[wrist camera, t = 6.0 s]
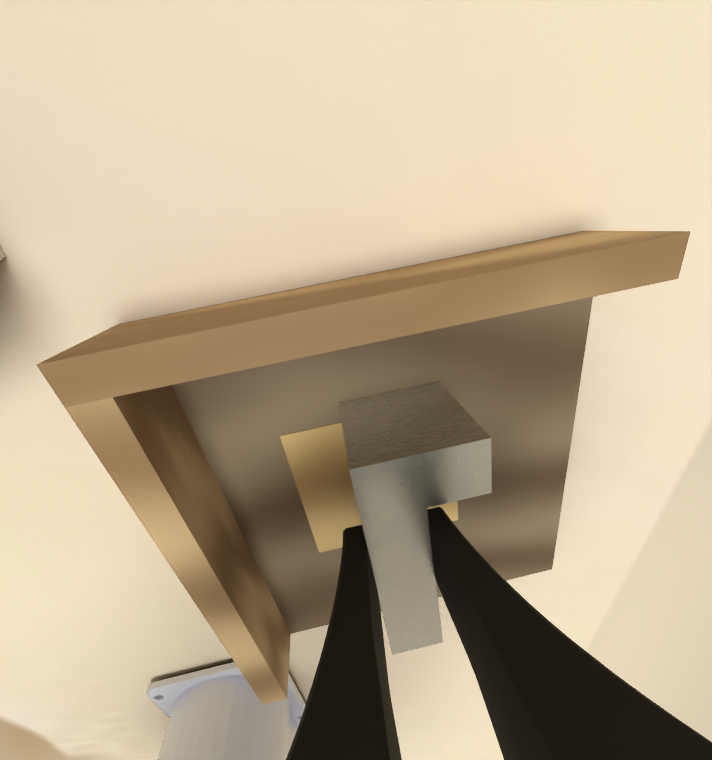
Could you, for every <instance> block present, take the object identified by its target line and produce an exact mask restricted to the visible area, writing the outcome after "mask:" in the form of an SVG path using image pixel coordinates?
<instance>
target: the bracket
mask: <svg viewBox="0 0 712 760" xmlns="http://www.w3.org/2000/svg"><path fill="white" fill-rule="evenodd" d="M338 404H339V410H340V416H341V422H342V429H343V435H344V441H345V448H346V454H347V460H348V466H349V472H350V476H351V480H352V485H353V489H354V493H355V497H356V502H357V506H358V510H359V515H360V519H361V523H362V527H363V532H364V536H365V539H366V543H367V547H368V552H369V556H370V560H371V565H372V569H373V573H374V577H375V582H376V586H377V590H378V595H379V600H380V604H381V609H382V613H383V617H384V621H385V626H386V630H387V634H388V638H389V643H390V647H391V651H392V655H393V654H397V653H401V652H405V651H409V650H413V649H417V648H421V647H425V646H429V645H433V644H437V643H441V642H443V640H442V631H441V622H440V614H439V605H438V597H437V588H436V580H435V574H434V566H433V557H432V549H431V540H430V532H429V520H428V511H427V508H429V507H433V506H437V505H442V504H446V503H450V502H454V501H459V500H463V499H467V498H472V497H476V496H480V495H484V494H489V493H492V475H491V437H490V436H489V435H488V434H487V433H486V432H485V430H484V429H483V428H482V427H481V426H480V425H479V424H478V423H477V422H476V421H475V420H474V418H473V417H472V416H471V415H470V414H469V413H468V412H467V411H466V410H465V409H464V408H463V406H462V405H461V404H460V403H459V402H458V401H457V400H456V399H455V398H454V397H453V395H452V394H451V393H450V392H449V391H448V390H447V389H446V388H445V387H444V386H443V385H442V383H441V382H440V381H437V382H433V383H428V384H423V385H419V386H414V387H409V388H405V389H400V390H396V391H391V392H386V393H382V394H377V395H373V396H368V397H363V398H359V399H354V400H349V401H345V402H340V403H338Z"/></svg>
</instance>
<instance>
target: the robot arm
mask: <svg viewBox="0 0 712 760" xmlns="http://www.w3.org/2000/svg"><path fill="white" fill-rule="evenodd" d="M427 511H428V520H429V532H430V540H431V549H432V557H433V566H434V574H435V579H436V582H437V584H438V587H439V589H440V592H441V594H442V596H443V599H444V601H445V603H446V606H447V608H448V611H449V613H450V615H451V618H452V620H453V622H454V625H455V627H456V629H457V632H458V634H459V636H460V639H461V641H462V643H463V646H464V648H465V650H466V653H467V655H468V658H469V660H470V663H471V665H472V668H473V670H474V673H475V675H476V678H477V681H478V684H479V687H480V690H481V692H482V695H483V698H484V701H485V704H486V707H487V710H488V713H489V716H490V719H491V722H492V725H493V728H494V730H495V733H496V736H497V739H498V742H499V745H500V748H501V751H502V754H503V757H504V760H712V742H710V741H709V740H708V739H706V738H705V737H703V736H702V735H700V734H699V733H697V732H696V731H694V730H693V729H692V728H690V727H689V726H687V725H686V724H684V723H682V722H681V721H680V720H678V719H677V718H675V717H674V716H672V715H671V714H669V713H668V712H667V711H665V710H664V709H663V708H661V707H660V706H658V705H657V704H655V703H654V702H652V701H651V700H650V699H648V698H647V697H646V696H644V695H643V694H641V693H640V692H638V691H637V690H636V689H635V688H633V687H632V686H630V685H629V684H628V683H626V682H625V681H624V680H622V679H621V678H620V677H618V676H617V675H615V674H614V673H613V672H612V671H610V670H609V669H608V668H606V667H605V666H604V665H603V664H601V663H600V662H599V661H598V660H596V659H595V658H594V657H592V656H591V655H590V654H589V653H587V652H586V651H585V650H584V649H582V648H581V647H580V646H578V645H577V644H576V643H575V642H573V641H572V640H571V639H570V638H568V637H567V636H566V635H565V634H564V633H562V632H561V631H560V630H559V629H558V628H557V627H555V626H554V625H553V624H552V623H551V622H549V621H548V620H547V619H546V618H545V617H544V616H543V615H542V614H540V613H539V612H538V611H537V610H536V609H535V608H534V607H533V606H531V605H530V604H529V603H528V602H527V601H526V600H525V599H524V598H523V597H522V596H521V595H520V594H519V593H518V592H516V591H515V590H514V589H513V588H512V587H511V586H510V585H509V584H508V583H507V582H506V581H505V580H504V579H503V578H502V577H501V576H500V575H499V574H498V573H497V572H496V571H495V570H494V569H493V568H492V567H491V566H490V564H489V563H488V562H487V561H486V560H485V559H484V558H483V557H482V556H481V555H480V554H479V553H478V551H477V550H476V549H475V548H474V547H473V546H472V545H471V544H470V543H469V541H468V540H467V539H466V538H465V537H464V535H463V534H462V533H461V532H460V531H459V529H458V528H457V527H456V526H455V525H454V523H453V522H452V521H451V519H450V518H449V517H448V515H447V514H446V513H445V511H444V510H443V508H441V507H435V508H431V509H427ZM147 695H148V696H149V698H150V699H151V700H152V701H153V702H154V703H155V704H156V705H157V706H158V707H159V708H160V709H161V710H162V711H163V712H164V713H165V714H166V715H167V716H168V717H169V718H170V719H169V723H168V726H167V730H166V733H165V737H164V740H163V744H162V747H161V751H160V754H159V758H158V760H402V759H401V754H400V748H399V742H398V737H397V731H396V726H395V720H394V715H393V709H392V703H391V697H390V690H389V683H388V675H387V666H386V657H385V648H384V639H383V630H382V621H381V612H380V603H379V595H378V590H377V586H376V582H375V577H374V573H373V569H372V565H371V560H370V556H369V552H368V547H367V543H366V539H365V536H364V532H363V527H362V525H358V526H354V527H349V528H345V530H344V531H343V545H342V556H341V564H340V572H339V578H338V583H337V589H336V595H335V600H334V605H333V609H332V613H331V618H330V622H329V626H328V631H327V635H326V639H325V642H324V646H323V650H322V653H321V657H320V661H319V664H318V667H317V671H316V674H315V677H314V681H313V684H312V687H311V690H310V693H309V696H308V699H307V702H306V704H305V702H304V701H303V699H302V697H301V695H300V693H299V691H298V689H297V687H296V686H295V684H294V682H293V680H292V678H291V676H290V674H288V695H287V699H283V700H279V701H276V702H272V703H268V704H264V705H263V704H262V703H261V701H260V700H259V698H258V697H257V695H256V694H255V692H254V691H253V689H252V688H251V686H250V685H249V683H248V682H247V680H246V679H245V677H244V676H243V674H242V673H241V671H240V670H239V668H238V667H237V665H236V664H235V662H232V663H228V664H224V665H220V666H216V667H212V668H208V669H204V670H200V671H196V672H192V673H188V674H184V675H180V676H176V677H172V678H168V679H164V680H160V681H156V682H153V683H151V684H150V685H149V687H148V690H147Z"/></svg>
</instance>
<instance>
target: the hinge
mask: <svg viewBox="0 0 712 760" xmlns="http://www.w3.org/2000/svg"><path fill="white" fill-rule="evenodd" d="M4 257H6V254H5V253H4V251H3V249H2V247H1V245H0V260H1V259H3V258H4Z"/></svg>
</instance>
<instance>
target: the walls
mask: <svg viewBox="0 0 712 760" xmlns="http://www.w3.org/2000/svg"><path fill="white" fill-rule="evenodd" d="M689 235H690V232H681V231H582V232H577V233H572V234H567V235H562V236H557V237H552V238H547V239H542V240H537V241H532V242H527V243H522V244H517V245H512V246H507V247H502V248H497V249H492V250H487V251H482V252H477V253H472V254H467V255H462V256H457V257H452V258H447V259H442V260H437V261H432V262H427V263H422V264H417V265H412V266H407V267H402V268H397V269H393V270H388V271H383V272H378V273H373V274H368V275H363V276H358V277H353V278H348V279H343V280H338V281H333V282H328V283H323V284H318V285H313V286H308V287H303V288H298V289H293V290H288V291H283V292H278V293H273V294H268V295H263V296H258V297H253V298H248V299H243V300H238V301H233V302H228V303H223V304H218V305H213V306H208V307H203V308H198V309H193V310H188V311H183V312H178V313H173V314H168V315H163V316H158V317H153V318H148V319H143V320H138V321H133V322H128V323H123V324H118V325H116V326H114V327H112V328H110V329H108V330H106V331H104V332H102V333H100V334H98V335H96V336H94V337H92V338H90V339H88V340H86V341H83V342H81V343H79V344H77V345H75V346H73V347H71V348H69V349H67V350H65V351H63V352H61V353H59V354H57V355H55V356H53V357H51V358H49V359H47V360H45V361H43V362H41V363H39V364H37V366H38V368H39V369H40V371H41V372H42V374H43V375H44V377H45V378H46V380H47V381H48V383H49V384H50V386H51V387H52V389H53V390H54V392H55V393H56V395H57V396H58V398H59V399H60V401H61V402H62V404H63V405H64V407H65V408H66V410H67V411H68V413H69V414H70V416H71V417H72V419H73V420H74V422H75V423H76V425H77V426H78V428H79V429H80V431H81V432H82V434H83V435H84V437H85V438H86V440H87V441H88V443H89V444H90V446H91V447H92V449H93V450H94V452H95V453H96V455H97V456H98V458H99V459H100V461H101V462H102V464H103V465H104V467H105V468H106V470H107V471H108V473H109V474H110V476H111V477H112V479H113V480H114V482H115V483H116V485H117V486H118V488H119V489H120V491H121V492H122V494H123V495H124V497H125V498H126V500H127V501H128V503H129V504H130V506H131V507H132V509H133V510H134V512H135V513H136V515H137V516H138V518H139V519H140V521H141V522H142V524H143V525H144V527H145V528H146V530H147V531H148V533H149V534H150V536H151V537H152V539H153V541H154V542H155V544H156V545H157V547H158V548H159V550H160V551H161V553H162V554H163V556H164V557H165V559H166V560H167V562H168V563H169V565H170V566H171V568H172V569H173V571H174V572H175V574H176V575H177V577H178V578H179V580H180V581H181V583H182V584H183V586H184V587H185V589H186V590H187V592H188V593H189V595H190V596H191V598H192V599H193V601H194V602H195V604H196V605H197V607H198V608H199V610H200V611H201V613H202V614H203V616H204V617H205V619H206V620H207V622H208V623H209V625H210V626H211V628H212V629H213V631H214V632H215V634H216V635H217V637H218V638H219V640H220V641H221V643H222V644H223V646H224V647H225V649H226V650H227V652H228V653H229V655H230V656H231V658H232V659H233V661H234V662H235V664H236V665H237V667H238V668H239V670H240V671H241V673H242V674H243V676H244V677H245V679H246V680H247V682H248V683H249V685H250V686H251V688H252V689H253V691H254V692H255V694H256V695H257V697H258V698H259V700H260V701H261V703H262V704H263V705H264V704H268V703H272V702H276V701H279V700H283V699H287V695H288V674H289V653H290V632H289V630H288V628H287V625H286V623H285V621H284V619H283V617H282V615H281V613H280V611H279V609H278V607H277V605H276V603H275V600H274V598H273V596H272V594H271V592H270V590H269V588H268V586H267V584H266V582H265V580H264V577H263V575H262V573H261V571H260V569H259V567H258V565H257V563H256V561H255V559H254V557H253V555H252V552H251V550H250V548H249V546H248V544H247V542H246V540H245V538H244V536H243V534H242V532H241V529H240V527H239V525H238V523H237V521H236V519H235V517H234V515H233V513H232V511H231V509H230V507H229V504H228V502H227V500H226V498H225V496H224V494H223V492H222V490H221V488H220V486H219V484H218V481H217V479H216V477H215V475H214V473H213V471H212V469H211V467H210V465H209V463H208V461H207V459H206V456H205V454H204V452H203V450H202V448H201V446H200V444H199V442H198V440H197V438H196V436H195V433H194V431H193V429H192V427H191V425H190V423H189V421H188V419H187V417H186V415H185V413H184V411H183V408H182V406H181V404H180V402H179V400H178V398H177V396H176V394H175V392H174V390H173V388H172V385H174V384H179V383H184V382H188V381H193V380H198V379H203V378H207V377H212V376H217V375H222V374H226V373H231V372H236V371H241V370H245V369H250V368H255V367H260V366H265V365H269V364H274V363H279V362H284V361H288V360H293V359H298V358H303V357H307V356H312V355H317V354H322V353H326V352H331V351H336V350H341V349H345V348H350V347H355V346H360V345H364V344H369V343H374V342H379V341H383V340H388V339H393V338H398V337H403V336H407V335H412V334H417V333H422V332H426V331H431V330H436V329H441V328H445V327H450V326H455V325H460V324H464V323H469V322H474V321H479V320H483V319H488V318H493V317H498V316H502V315H507V314H512V313H517V312H521V311H526V310H531V309H536V308H540V307H545V306H550V305H555V304H560V303H564V302H569V301H574V300H579V299H583V298H588V297H593V296H598V295H602V294H607V293H612V292H617V291H621V290H626V289H631V288H636V287H640V286H645V285H650V284H655V283H659V282H664V281H669V280H674V279H678V277H679V273H680V269H681V265H682V262H683V258H684V254H685V250H686V246H687V242H688V238H689Z"/></svg>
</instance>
